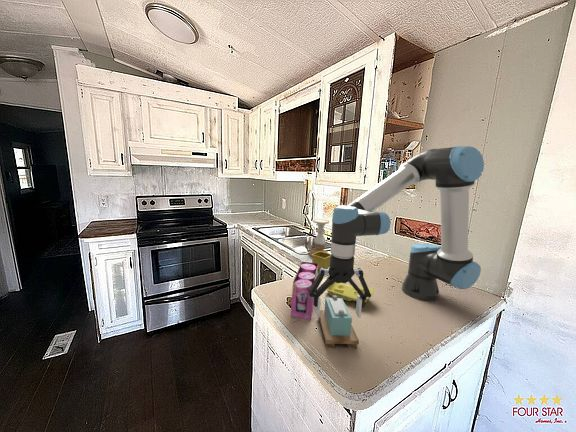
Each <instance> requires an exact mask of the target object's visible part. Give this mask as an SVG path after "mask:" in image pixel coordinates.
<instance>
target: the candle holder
mask: <svg viewBox="0 0 576 432" xmlns="http://www.w3.org/2000/svg"><path fill="white" fill-rule="evenodd" d="M312 221H313V224H316V225H317V229H316V231H317V232H316V233H317V235H316V237H315V238H314V241H313V242H314V247H315V248H313V249H310V250H309V251H308V253H307V255H308V256H309V257H310V258H311V259H312V254H314V253H316V252H319V251H322V252H326V253H328V252H327V251H326V250H325V244H326V243H327V239H326V238H325V236H324V234H325V231H326V230H325V228H324V227H325V226H326V224H330V220H327V219H322V218H316V219H313V220H312Z"/></svg>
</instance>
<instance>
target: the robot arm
mask: <svg viewBox="0 0 576 432" xmlns="http://www.w3.org/2000/svg"><path fill="white" fill-rule="evenodd" d="M484 169H485V160H484V157H483V155H482V153H481V151H480V150H479V149H477V148H476V147H475V146H471V145H469V146H465V145H464V146H461V145H459V146H458V145H457V146H451V147H450V146H449V147H443V148H442V147H440V148H431V149H427V150H424V151H422V152H420V153H418V154H417V155H415V156H413V157H410V158H409V159H408V160H406V161H405V162H404V163H402V164H401V165H400V166H399V167H398V169H397V170H396V171H395V172H393V173H392V174H391V175H389V176H387V178H384V179H383V180H382V181H380V182H379V183H377V184H376V185H374V186H373V187H371V188H370V189H369V190H368V191H366V192H365V193H363V194H362V195H360V196H359V197H357V198H356V199H354V200H353V201H351V202H350V203H348V204H342V205H338V206H336V207H334V208H333V212H332V220H331V223H332V224H331V241H330V243H331V244H330V254H331V255H330V267H329V268H328V269H323V268H322V267H321V268H320V270H318V276H317V278H316V279H315V281H314V283H313V284H312V286H311V288H310V289H309V296H310V297H314V308H316V309H315V313H316V316H317V317H316V318H319V317H320V310H321V301H322V300H321V296H322V295H323V294H324V293H325V292H326V291H327V288H328V287H329V286H330V285H332V284H333V283H334V282H336V283H343V284H347V283H349V284H350V286H353V288H354V289H355V290H356V291H357V293H358V294H359V295H360V296H359V295H357V301H356V305H355V306H356V307H355V314H356V316H357V318H358V319H360V318H361V317H362V308H365V303H366V302H365V300H366V297H370V298H371V297H372V296H371V294H370V291H369V289H370V288H369V287H368V284H367V283H366V281H365V277H364V271H363V269H362V268H360V267H357V269H354V266H355V257H354V256H355V255H356V243H357V237H361V236H363V237H365V236H379V235H384V234H387V233H388V232H389V230H390V228H391V219H390V216H389V215H388V214H387V213H386V212H384V211H376V210H377V209H379V208H380V207H382V206H383V205H384V204H385V203H387V202H388V201H390V200H391V199H393V198H394V197H395V196H397V195H398V194H400V193H401V192H403V191H404V190H406V189H407V188H408V187H410V186H413V185H415V186H416V185H417V184H419V183H420V182H422V181H426V180H433V181H435V182H434V183H435V188H437V189H438V190H439V192H440V194H439V195H440V244H441V245H437V244H433V243H414V244H413V245H412V246H411V248H410V249H411V250H410V251H409V252H410V253H409V260H408V261H409V262H408V268H407V269H408V270H407V274H406V276H405V279H404V281H403V282H402V283H401V290H402V292H404V293H405V294H406V295H407V296H409V297H412V298H415V299H418V300H423V301H436V300H438V299H439V297H440V289H439V285H438V281H437V280H439V281H441V282H442V283H443V282H444V283H445V284H448V285H450V286H451V287H455V288H457V289H460V290H468V289H469V288H471V287H473V286H474V284H475V283H477V281H478V279H479V277H480V275H481V272H482V269H481V265H480V264H479V263H478V262H476V261H474V253H473V252H472V251H470V250H469V214H470V211H469V208H470V203H469V202H470V189H471V188H472V187H474V185H475V183H476V182H475V181H478V180H479V179H480V178H481V176H482V173H484ZM327 275H328V276H327ZM354 275H355V276H356V277H358V280H359V282H360V284H361V287H363V289H364V291H365V292H362V291H361V290H360V289H359V287H360V286H358V285H357V283H356V282H355V281H354V280H353V279H352V278H353V277H354ZM326 276H327V278H326V279H325V281H324V282H323V279H324V277H326ZM322 282H323V283H322ZM321 283H322V284H321ZM368 288H369V289H368Z"/></svg>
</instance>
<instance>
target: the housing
mask: <svg viewBox="0 0 576 432" xmlns="http://www.w3.org/2000/svg"><path fill="white" fill-rule="evenodd" d="M324 302H325V303H324V310H325V312H324V313H325V316H326V320H327V323H328V326H329V329H330V333H331V335H343V336H350V334H351V325H352V322H353V318H352V316H351V313H350V311H349V309H348V307H347V305H346V303H345V302H344V299H342V298H338V297H337V296H336V295H333V296H332V297H325V300H324Z"/></svg>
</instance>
